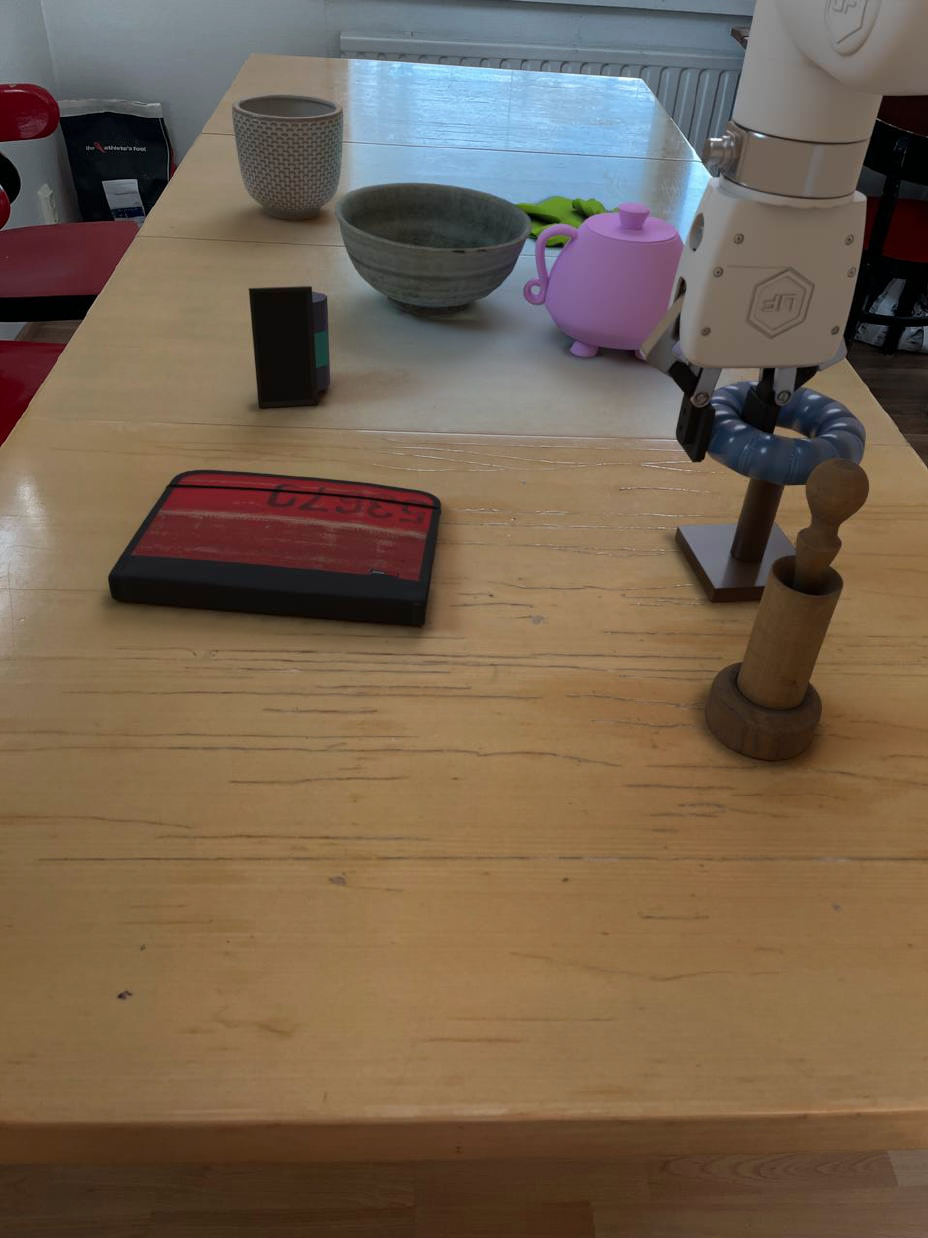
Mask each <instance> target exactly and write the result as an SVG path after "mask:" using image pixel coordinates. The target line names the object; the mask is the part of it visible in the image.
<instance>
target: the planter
mask: <svg viewBox="0 0 928 1238" xmlns="http://www.w3.org/2000/svg"><path fill="white" fill-rule="evenodd" d="M231 118H232V125H233V133H234V140H235V147H236V155H237V160H238V165H239V171H240V176H241V180H242V183H243V186H244V189H245V190H246V191H247V194H248V195H249V196H250V198H251V199H253V201H255V202H256V203H258V204H259V205H261V206H262V207H263V209H264V211H265V213H266V214H267V215H269V216H270V217H273V218H276V219H281V220H287V221H300V220H301V221H302V220H309V219H312V218H315V217H317V216H318V215H319V214H320V212H321V209H322V207H323V206H325V205H327V204H328V203H329V202H330V201H331V200H332V199H333V198H334V197H335V195H336V193H337V191H338V188H339V185H340V179H341V173H342V172H341V171H342V161H343V146H344V145H343V141H344V121H345V120H344V118H345V117H344V109H343V106H342V105H341V104H340V103H338V102H336V101H334V100H331V99H328V98H324V97H319V96H313V95H306V94H294V93H266V94H265V93H263V94H253V95H248V96H244V97H240V98H238V99H236V100H234V101H233V102H232V104H231Z"/></svg>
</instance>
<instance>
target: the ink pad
mask: <svg viewBox="0 0 928 1238" xmlns="http://www.w3.org/2000/svg"><path fill="white" fill-rule="evenodd" d="M441 515H442V502H441V500H440V498H438V497H437V496H436V495H434V494H433V493H430V492H427V491H424V490H421V489H420V490H419V489H413V488H406V487H400V486H399V487H398V486H393V485H386V484H377V483H372V482H363V481H353V480H344V479H334V478H324V477H314V476H297V475H288V474H287V475H286V474H278V473H277V474H275V473H262V472H253V471H251V472H250V471H236V470H220V469H219V470H218V469H193V470H187V471H183V472H180V473H178V474H176V475H175V476H174V477H172V479H171V480H170V482H169V483H168V484H167V485H166V486H165V489H164V490H163V492H162V493H161V495H160V496H159V497H158V499H157V501H156V502H155V504H154V505H153V506H152V508H151V509H150V511H149V513H148V514H147V515H146V517H145V518H144V520H143V521H142V522H141V524H140V526H139V527H138V528H137V530H136V531H135V533H134V535H133V536H132V538H131V539H130V541H129V542H128V544H127V545H126V547H125V548H124V550H123V551H122V553H121V554H120V556H119V557H118V559H117V561H116V562H115V564H114V565H113V567H112V568H111V570H110V572H109V574H108V576H107V581H108V582H107V583H108V587H109V592H110V596H111V599H113V600H115V601H120V602H121V601H127V602H128V601H129V602H136V603H148V604H157V605H169V606H177V607H178V606H179V607H190V608H191V607H192V608H200V609H201V608H202V609H215V610H226V611H238V612H239V611H240V612H251V613H252V612H253V613H261V614H262V613H265V614H277V615H287V616H288V615H289V616H299V617H300V616H301V617H314V618H325V619H337V620H338V619H339V620H351V621H361V622H362V621H363V622H376V623H387V624H388V623H389V624H400V625H401V624H402V625H412V626H413V625H414V626H419V627H420V626H424V625H425V624H426V612H427V607H428V602H429V601H428V600H429V593H430V589H431V588H430V586H431V580H432V574H433V567H434V560H435V552H436V545H437V539H438V531H439V522H440V516H441Z"/></svg>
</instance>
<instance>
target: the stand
mask: <svg viewBox="0 0 928 1238" xmlns="http://www.w3.org/2000/svg"><path fill="white" fill-rule="evenodd" d="M747 484H748V485H747V487H746V492H745V495H744V498H743V502H742V507H741V509H740V513H739V517H738V519H737V522H736V523H733V522H732V523H715V524H713V523H712V524H693V525H677V527H676V531H675V535H674V540H675V542H676V544H677V546H678V547H679V549H680V550H681V552H682V554H683V556H684V557H685V560H686V561H687V563H688V564H689V566H690V568H691V570H692V571H693V573H694V574H695V576H696V578H697V579H698V581H699V583H700V584H701V586H702V588H703V589H704V592H705V593H706V595H707V596H708V598H709V600H710V602H711V603H719V602H736V601H753V600H754V601H755V600H761V598H762V595H763V592H764V588H765V585H766V581H767V578H768V575H769V571H770V568H771V565H772V563H773V562H774V561H775V560H777V559H778V558H780V557H783V556H788V555H796V546H794V545H793V543H792V542H791V540H790V539H789V538H788V536H786V534H785V533H784V532H783V530H782V529H781V527H780V526H779V525H778V523H777V522H776V521H775V520H776V517H777V513H778V510H779V506H780V503H781V500H782V496H783V493H784V490H785V487H786V485H779V484H775V483H770V482H766V481H762V480H758V479H753V478H749V481H748V483H747Z"/></svg>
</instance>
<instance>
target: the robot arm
mask: <svg viewBox="0 0 928 1238" xmlns="http://www.w3.org/2000/svg"><path fill="white" fill-rule="evenodd" d="M737 87H738V88H737V93H736V98H735V103H734V106H733V111H732V118H731V120H727V123H726V128H725V133H724V134H723V135H720V136H718V137H706V139H705V140H704V143H703V144H702V149H701V151H702V152H701V160H702V163H703V164H704V165H715V167H716V168H717V170H718V172H720V174H719V177H718V176H717V177H716V176H715V177H711V178H709V180H708V182H707V184H706V187H705V189H704V192H703V193H702V196H701V198H700V201H699V203H698V205H697V208H696V210H695V213H694V215H693V217H692V221H691V223H690V227H689V229H688V233H687V235H686V239H685V240H684V243H683V244H684V248H683V251H682V254H681V258H680V261H679V265H678V268H677V272H676V276H675V280H674V284H673V288H672V292H671V297H670V301H669V306H668V312H667V313H666V314H665V315H664V317H663V318H662V319H661V321H660V322H659V323H658V325H657V326H656V327H655V328H654V330H653V331H652V332H651V334H650V335H649V336H648V337H647V339H646V340H645V341H644V343H643V344H642V345H641V347H640V353H641V355H642V356H643V358H644V359H645V360H644V361H645V362H646V363H647V364H648V365H650V366H652V367H653V368H654V369H656V370H658V371H659V372H661V373H662V374H664V375H665V376H668V377H669V378H671V379H672V380H673V382H674V383H675V384H676V385H677V386H678V388H679V389H680V390H681V391H682V393H683V396H682V400H681V403H680V409H679V413H678V418H677V423H676V426H675V427H676V428H675V438H676V441H677V443H678V444H679V445H680V446H681V448H682V449H683V451H684V452H685V454H686V455H687V457H688V458H689V459H690V461H691V462H692V463H702V461H704V460H705V459H706V455H707V452H706V451H707V447H708V443H709V438H710V434H711V430H712V426H713V422H714V418H715V413H716V411H715V408H714V407H713V405H712V404H711V403H710V401H711V397H712V395H713V392H714V390H716V386H717V384H718V382H719V379H720V376H721V374H722V371H723V369H724V370H726V369H730V370H731V369H759V373H758V379H757V381H758V382H759V383H758V384H757V386H751V387H750V390H748V392H747V395H746V399H745V403H744V407H743V411H742V415H741V420H742V421H743V422H744V423H746V424H748V425H750V426H752V427H754V428H756V429H758V430H760V431H762V432H766V433H770V434H775V430H776V422H777V419H778V415H779V412H780V408H781V406H784V405H786V404H788V403H789V402H790V401H791V399H792V397H793V393H794V392H795V391H796V390H797V389H799V388H800V387H803V386H804V385H805V384H807V382H809V381H810V380H812V379H813V378H814V377H815V376H816V374H817V373H818V372H822V371H824V370H826V369H829V368H830V367H832V366H833V365H835V364H837V363H839V362H841V361H843V360H844V359H845V358H846V356H847V354H848V348H847V345H846V342H845V341H846V340H845V337H844V334H845V330H846V327H847V322H848V320H849V316H850V312H851V307H852V303H853V298H854V295H855V289H856V284H857V280H858V275H859V270H860V264H861V259H862V253H863V245H864V238H865V237H864V236H865V229H866V219H867V200H868V198H867V196H866V195H865V194H864V193H862V192H860V191H858V190H857V185H858V183H859V178H860V175H861V172H862V169H863V166H864V161H865V158H866V154H867V152H868V149H869V144H870V141H871V137H872V134H873V130H874V127H875V125H876V119H877V117H878V113H879V110H880V107H881V104H882V100H883V97H885V96H887V97H888V96H889V97H890V96H892V97H903V96H904V97H905V96H907V97H908V96H928V0H756V1H755V7H754V10H753V16H752V19H751V25H750V29H749V33H748V40H747V44H746V48H745V53H744V58H743V63H742V68H741V73H740V77H739V84H738V86H737ZM678 342H679V347H680V352H681V353H682V354H683V356H684V357H685V358H686V359H685V360H684V359H683V358H682V356H681V355H679V354H677V353H675V352H673V349H674V347H675V346H676V345H677V343H678Z"/></svg>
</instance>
